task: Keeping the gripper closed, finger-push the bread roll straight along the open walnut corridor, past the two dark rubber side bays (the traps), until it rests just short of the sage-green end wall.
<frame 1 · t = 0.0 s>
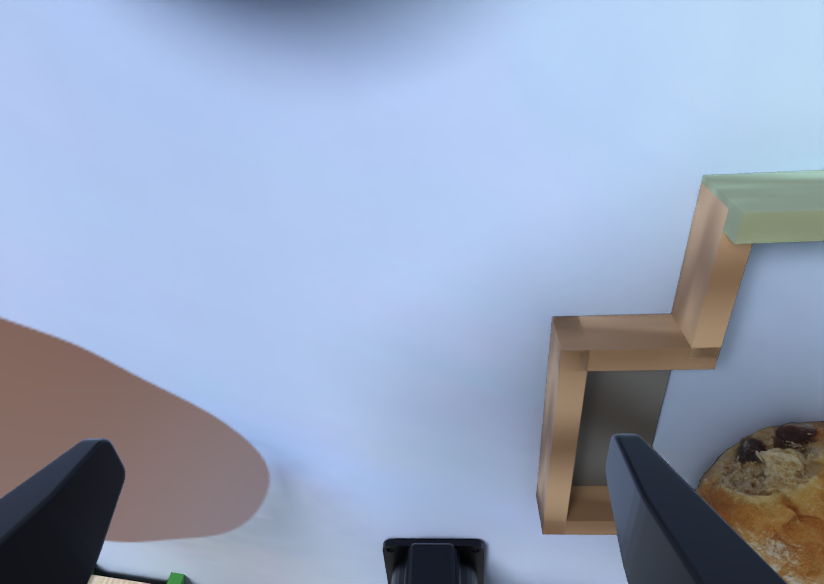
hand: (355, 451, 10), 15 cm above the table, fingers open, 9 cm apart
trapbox: (821, 392, 28), on the table
bread roll: (778, 471, 31), on the table
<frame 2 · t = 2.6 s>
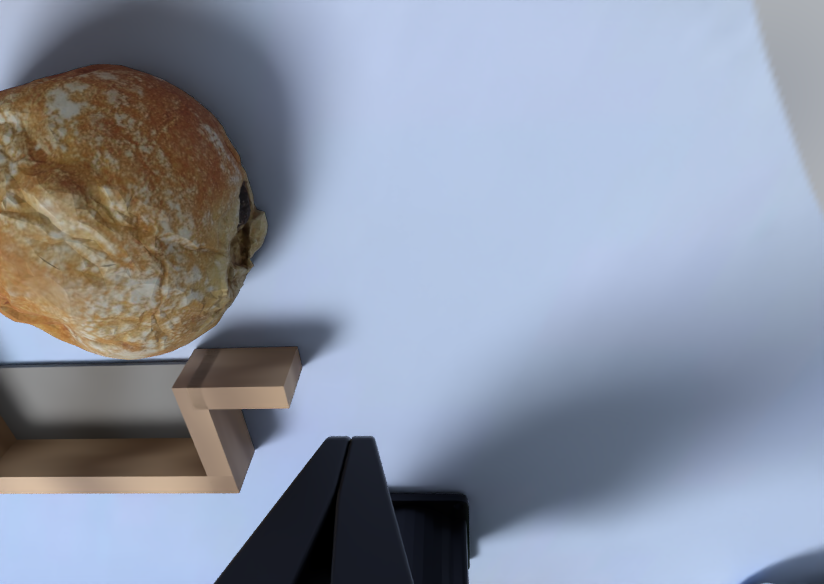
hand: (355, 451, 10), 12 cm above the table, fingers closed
bread roll: (132, 199, 21), on the table
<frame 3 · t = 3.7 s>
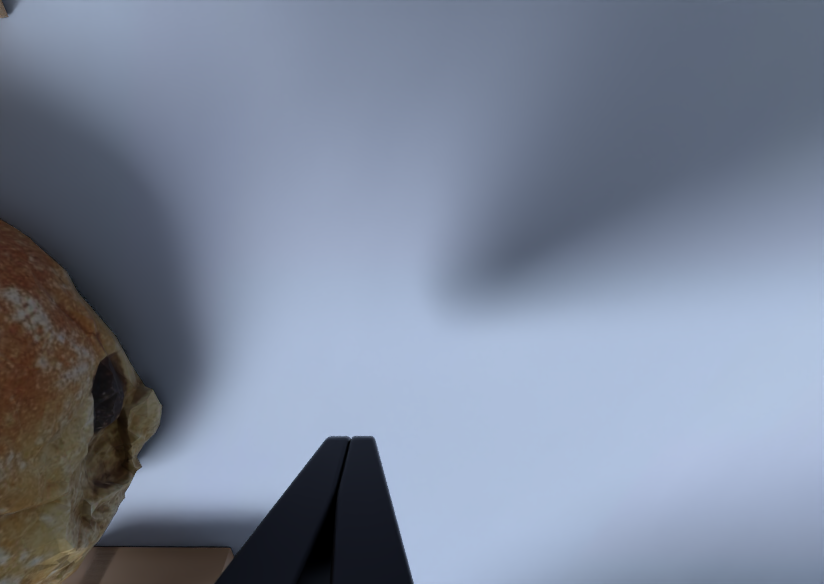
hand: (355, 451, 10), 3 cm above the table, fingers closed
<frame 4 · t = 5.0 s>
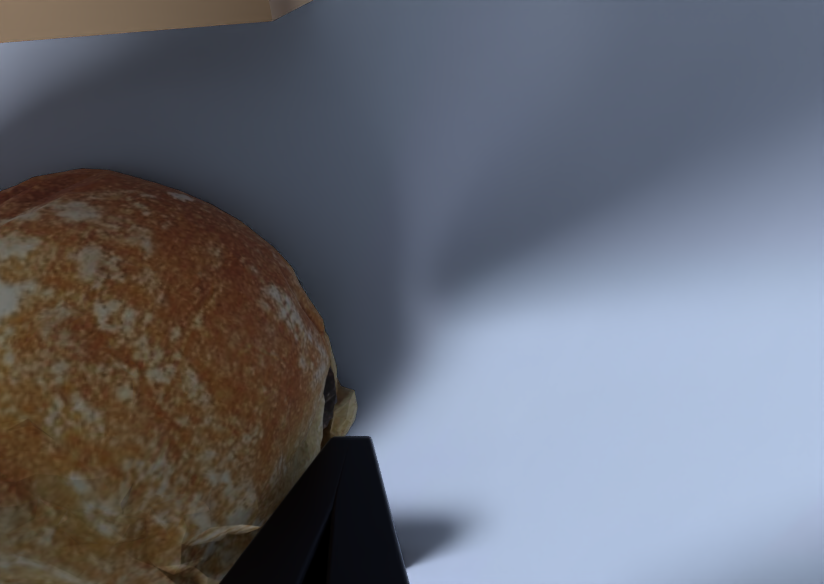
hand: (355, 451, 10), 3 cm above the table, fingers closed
bread roll: (133, 362, 13), on the table, touching gripper
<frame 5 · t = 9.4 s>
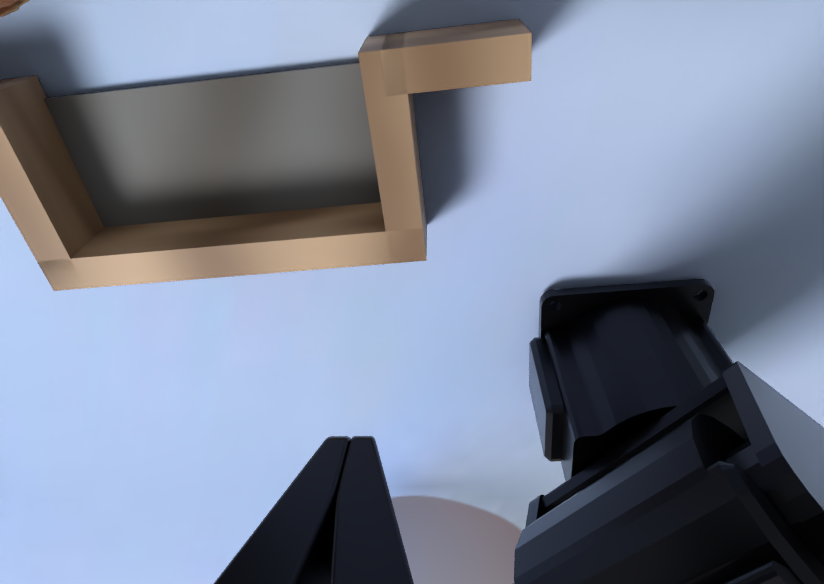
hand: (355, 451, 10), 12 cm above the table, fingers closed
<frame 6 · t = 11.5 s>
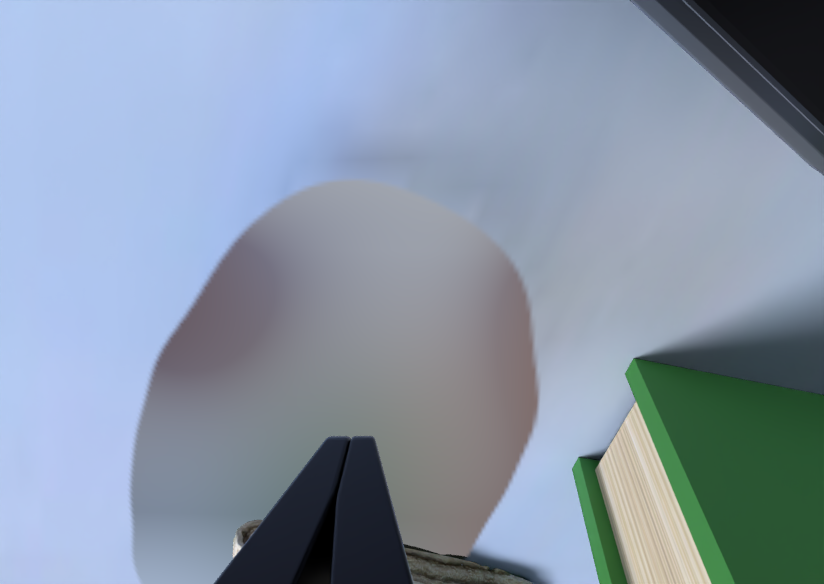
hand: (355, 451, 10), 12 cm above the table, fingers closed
hardback book: (775, 447, 26), on the table
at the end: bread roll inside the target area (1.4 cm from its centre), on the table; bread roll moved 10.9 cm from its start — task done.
